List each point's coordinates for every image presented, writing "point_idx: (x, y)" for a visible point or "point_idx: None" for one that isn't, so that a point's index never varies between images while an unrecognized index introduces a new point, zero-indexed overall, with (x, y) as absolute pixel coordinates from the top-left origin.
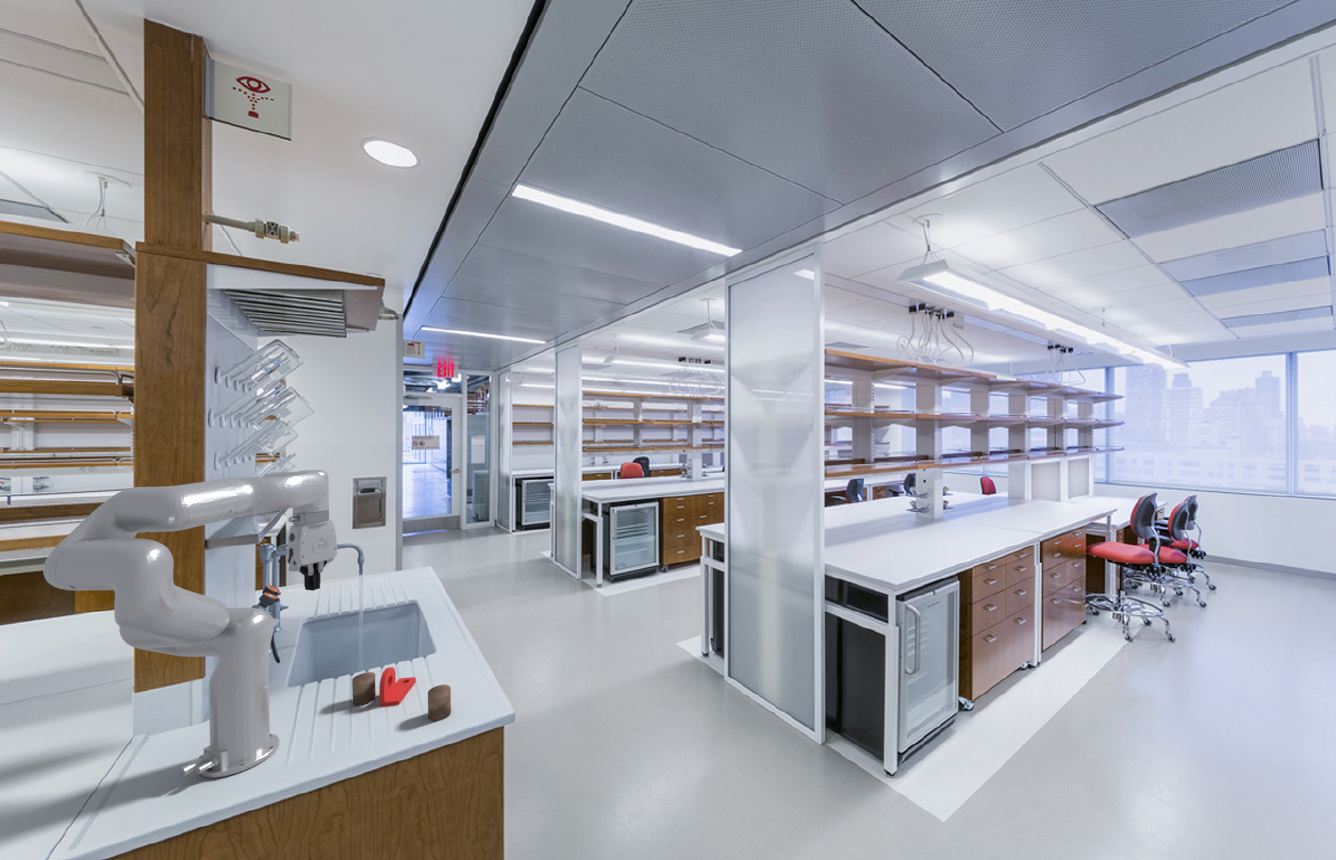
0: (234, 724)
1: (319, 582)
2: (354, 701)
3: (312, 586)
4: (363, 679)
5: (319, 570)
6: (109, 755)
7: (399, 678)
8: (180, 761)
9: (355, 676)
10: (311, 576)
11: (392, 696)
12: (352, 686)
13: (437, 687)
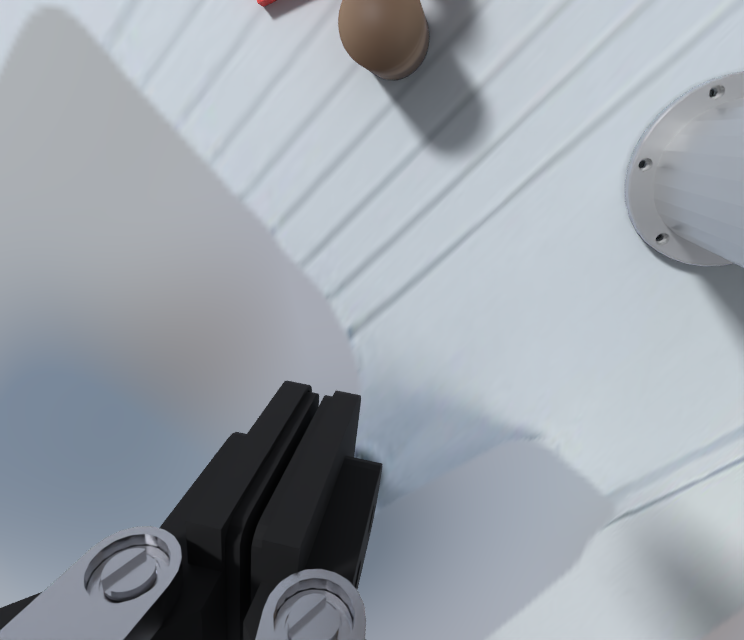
0: None
1: (264, 421)
2: (427, 45)
3: (347, 440)
4: (398, 2)
5: (147, 578)
6: (675, 511)
7: (258, 3)
8: (721, 333)
9: (380, 68)
10: (309, 564)
11: None
12: (414, 54)
13: None
